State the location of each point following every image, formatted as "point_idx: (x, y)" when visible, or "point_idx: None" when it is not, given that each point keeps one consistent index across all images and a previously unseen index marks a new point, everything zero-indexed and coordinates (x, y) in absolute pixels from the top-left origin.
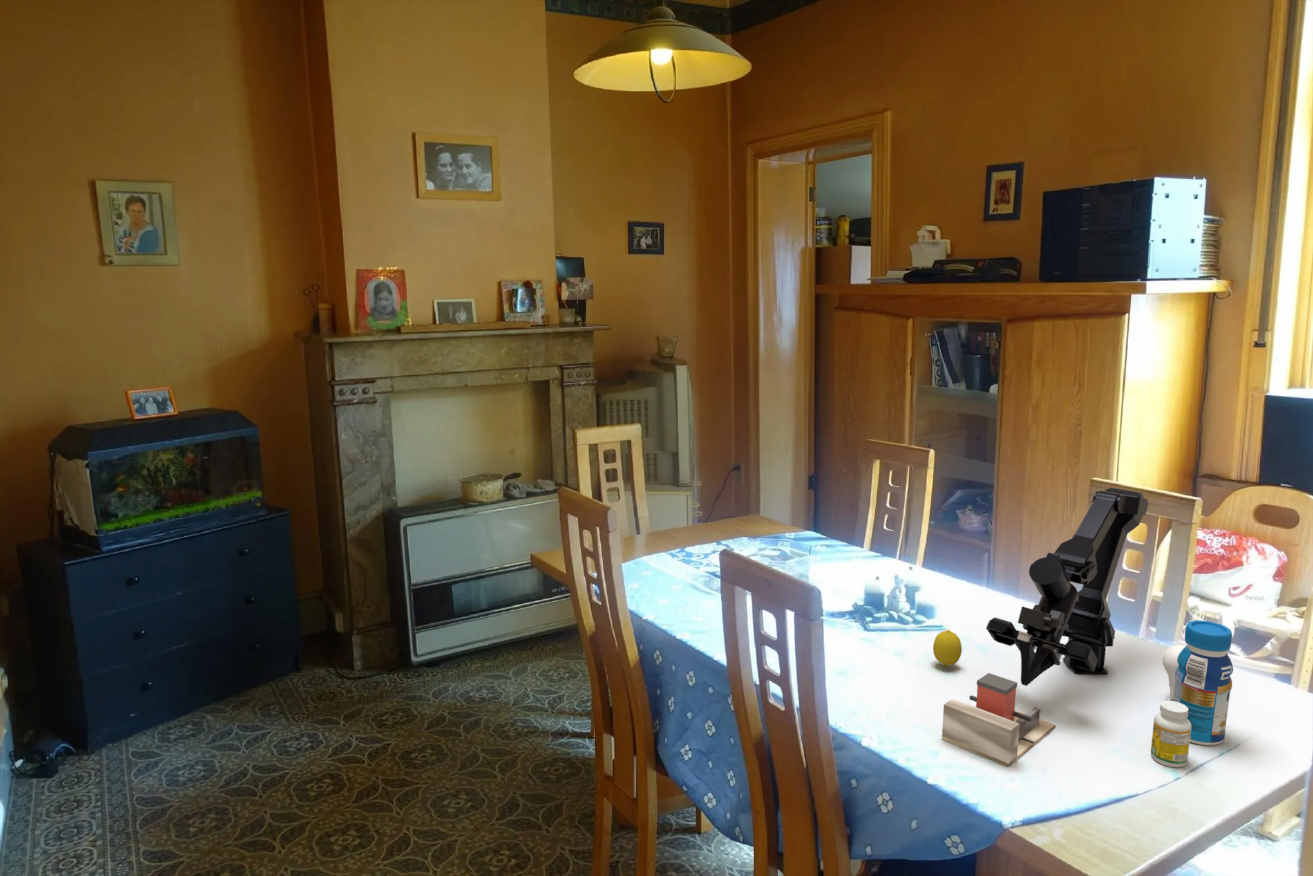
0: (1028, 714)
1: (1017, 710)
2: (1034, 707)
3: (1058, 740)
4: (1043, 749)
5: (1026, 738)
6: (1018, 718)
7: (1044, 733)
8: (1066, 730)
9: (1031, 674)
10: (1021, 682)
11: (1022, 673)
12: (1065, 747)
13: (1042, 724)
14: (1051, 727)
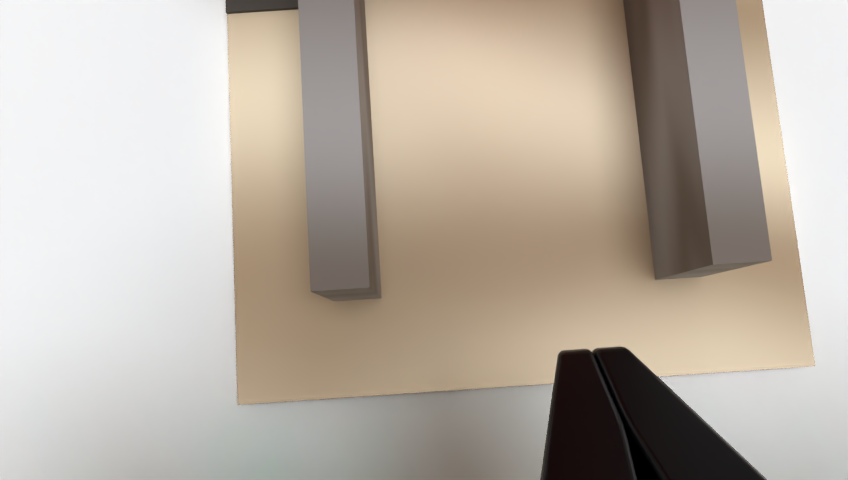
0: (330, 88)
1: None
2: (361, 268)
3: (144, 233)
4: (165, 33)
5: (292, 20)
6: (494, 259)
7: (232, 191)
8: (166, 431)
9: (543, 473)
10: (615, 349)
11: (690, 433)
12: (65, 178)
13: (311, 316)
14: (239, 329)
